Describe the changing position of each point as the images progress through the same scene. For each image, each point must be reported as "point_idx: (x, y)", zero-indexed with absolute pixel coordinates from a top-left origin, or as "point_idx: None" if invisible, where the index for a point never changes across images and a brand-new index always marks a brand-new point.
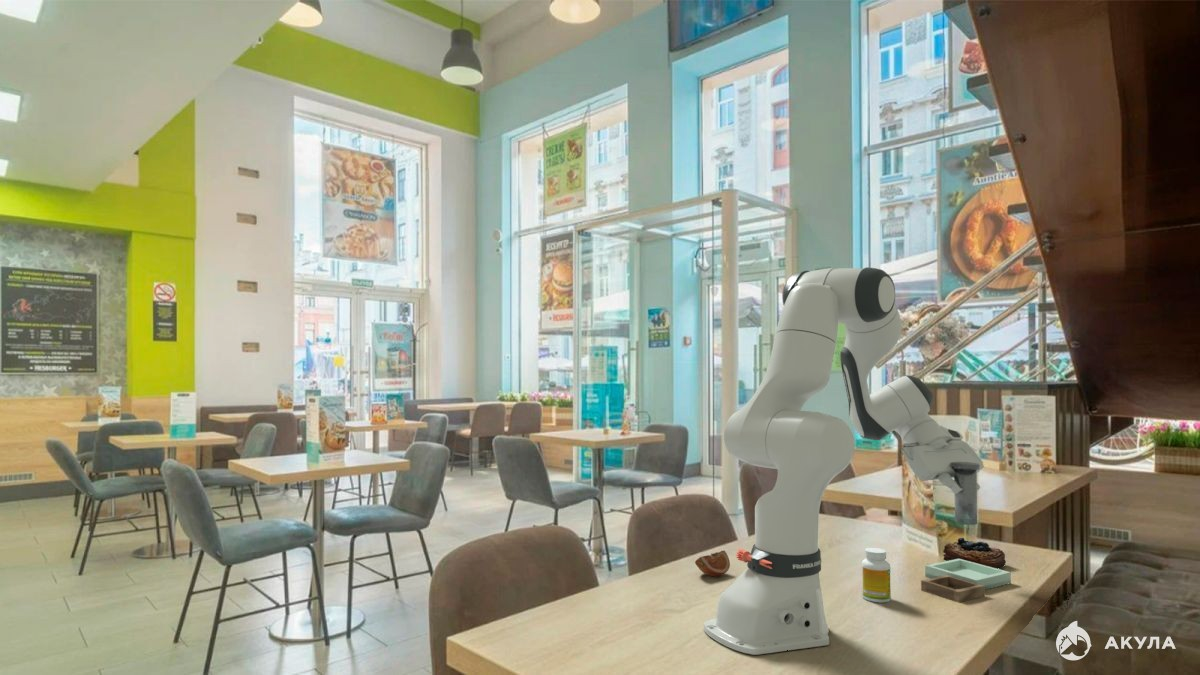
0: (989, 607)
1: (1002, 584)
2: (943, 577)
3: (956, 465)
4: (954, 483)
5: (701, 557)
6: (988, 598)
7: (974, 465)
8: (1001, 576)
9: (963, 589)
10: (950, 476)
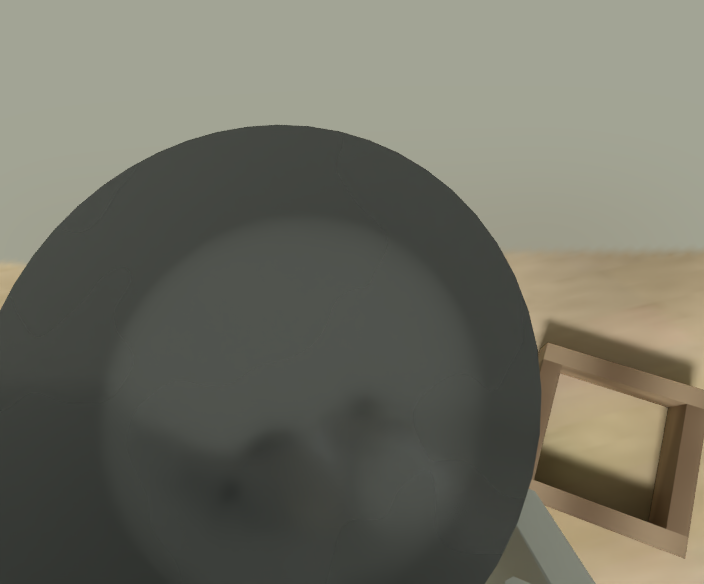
0: (653, 308)
1: None
2: (559, 492)
3: (521, 494)
4: (535, 493)
5: None
6: (557, 333)
7: (398, 158)
8: None
9: (660, 386)
10: (522, 580)
